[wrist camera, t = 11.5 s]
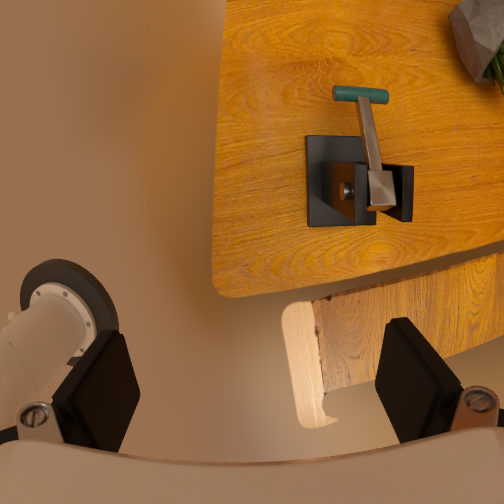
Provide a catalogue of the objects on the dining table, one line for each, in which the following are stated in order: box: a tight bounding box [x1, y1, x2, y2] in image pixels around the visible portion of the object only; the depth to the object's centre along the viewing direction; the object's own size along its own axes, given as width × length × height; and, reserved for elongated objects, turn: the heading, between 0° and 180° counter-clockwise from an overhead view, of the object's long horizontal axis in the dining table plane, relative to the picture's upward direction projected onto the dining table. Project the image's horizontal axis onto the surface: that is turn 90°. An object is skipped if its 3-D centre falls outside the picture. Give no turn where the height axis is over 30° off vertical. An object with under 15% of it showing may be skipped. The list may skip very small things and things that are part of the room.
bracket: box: [305, 135, 414, 227], centre depth 28 cm, size 10×8×13 cm
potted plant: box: [448, 0, 504, 95], centre depth 23 cm, size 12×13×15 cm
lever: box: [332, 85, 396, 211], centre depth 24 cm, size 11×5×2 cm, turn 3°
